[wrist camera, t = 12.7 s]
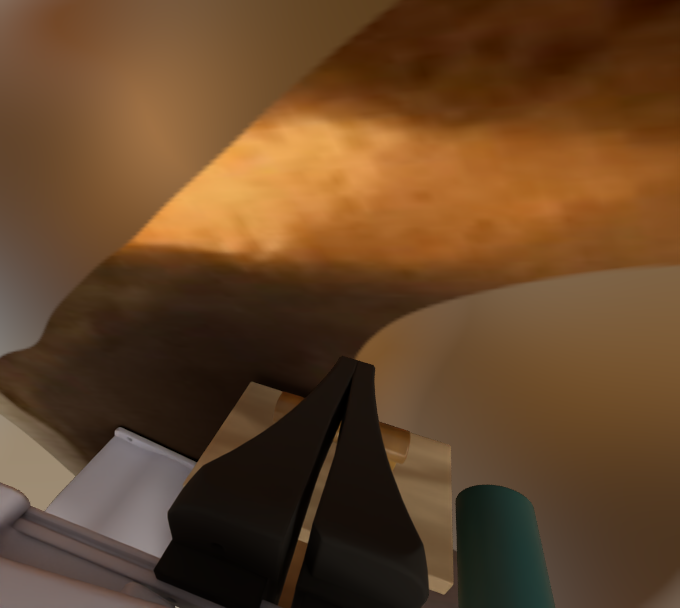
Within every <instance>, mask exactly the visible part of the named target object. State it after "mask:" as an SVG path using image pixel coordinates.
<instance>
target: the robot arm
mask: <svg viewBox="0 0 680 608" xmlns="http://www.w3.org/2000/svg"><path fill="white" fill-rule="evenodd" d="M374 376H375V367H374V365H371V364H368V363H364V362H361V361H358V360H354V359H351V358H348V357H344V356H342V357H340V358H339V359H338V361H337V362H336V364H335V365H334V367H333V368H332V369H331V371H330V372H329V373H328V374H327V375H326V377H325V378H324V379H323V380H322V381H321V382H320V383H319V384H318V385H317V386H316V388H315V389H314V390H313V391H312V392H311V393H310V394H309V395H308V396H306V397H305V398H304V399H303V400H302V401H301V402H300V403H299V404H298V405H297V406H296V407H294V408H293V409H292V410H291V411H290V412H289V413H287V414H286V415H285V416H284V417H282V418H281V419H280V420H278V421H277V422H276V423H274V424H273V425H272V426H270V427H269V428H267V429H266V430H264V431H263V432H262V433H260V434H259V435H257V436H255V437H254V438H252V439H250V440H249V441H247V442H245V443H244V444H242V445H240V446H239V447H237V448H235V449H234V450H232V451H230V452H228V453H226V454H224V455H222V456H220V457H218V458H216V459H214V460H212V461H210V462H208V463H206V464H204V465H203V466H202V467H201V468H200V469H199V470H198V471H197V472H196V473H195V474H194V475H193V477H192V478H191V479H190V480H189V481H188V483H187V484H186V485H185V486H184V488H183V483H184V481H185V480H186V478H187V477H188V475H189V474H190V472H191V471H192V469H193V468H194V466H195V465H196V463H197V462H195V461H193V460H191V459H189V458H187V457H184V456H182V455H180V454H178V453H176V452H174V451H171V450H169V449H167V448H165V447H163V446H161V445H159V444H156V443H154V442H152V441H150V440H148V439H146V438H143V437H141V436H139V435H137V434H135V433H133V432H130V431H128V430H126V429H124V428H122V427H118V428H117V429H116V430H115V436H114V437H113V438H112V439H111V440H110V441H109V442H108V443H107V444H106V445H105V446H104V447H103V449H102V450H101V451H100V452H99V453H98V454H97V455H96V456H95V457H94V458H93V459H92V460H91V461H90V462H89V463H88V464H87V465H86V466H85V467H84V468H83V469H82V470H81V471H80V472H79V474H78V475H77V476H76V477H75V478H74V479H73V480H72V481H71V482H70V483H69V484H68V485H67V486H66V487H65V488H64V489H63V490H62V491H61V492H60V493H59V495H57V497H56V498H55V499H54V500H53V501H52V502H51V504H50V505H49V506H48V507H47V509H46V510H45V511H42V510H40V509H37V508H35V507H32V506H30V502H29V500H28V498H27V497H26V496H25V495H24V494H23V493H22V492H20V491H19V490H17V489H15V488H13V487H10V486H8V485H5V484H3V483H0V608H175V606H177V607H179V608H282V607H280V606H278V603H279V600H280V597H281V594H282V590H283V587H284V584H285V581H286V577H287V574H288V571H289V568H290V564H291V561H292V558H293V555H294V551H295V548H296V545H297V542H298V539H299V535H300V532H301V529H302V526H303V523H304V519H305V516H306V513H307V510H308V507H309V504H310V500H311V497H312V494H313V491H314V488H315V485H316V482H317V479H318V476H319V473H320V471H321V468H322V466H323V464H324V461H325V459H326V456H327V454H328V452H329V449H330V447H331V444H332V442H333V440H334V437H335V435H336V432H337V430H338V428H339V425H340V423H341V425H340V430H339V435H338V440H337V445H336V450H335V454H334V458H333V461H332V464H331V467H330V470H329V473H328V477H327V480H326V483H325V486H324V489H323V492H322V495H321V499H320V502H319V505H318V508H317V511H316V514H315V517H314V520H313V524H312V528H311V532H310V536H309V540H308V544H307V548H306V552H305V556H304V560H303V563H302V567H301V570H300V573H299V577H298V580H297V583H296V587H295V593H294V597H293V601H292V605H291V608H421V607H422V605H423V604H424V603H425V602H426V601H427V598H428V596H429V579H428V568H427V561H426V555H425V550H424V544H423V542H422V540H421V538H420V536H419V534H418V532H417V530H416V528H415V526H414V524H413V522H412V520H411V517H410V515H409V513H408V511H407V508H406V506H405V504H404V501H403V499H402V497H401V494H400V491H399V489H398V486H397V483H396V481H395V478H394V476H393V473H392V470H391V467H390V464H389V460H388V457H387V454H386V450H385V447H384V443H383V439H382V434H381V430H380V425H379V420H378V414H377V407H376V399H375V386H374Z"/></svg>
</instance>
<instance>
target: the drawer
mask: <svg viewBox="0 0 680 608" xmlns="http://www.w3.org/2000/svg"><path fill="white" fill-rule="evenodd" d="M303 399H304V397H301V396H298V395H294V394H291V393H288V392H282V391H279V390H276V389H273V388H270V387H267V386H264V385H261V384H257V383H254V382H251V383H250V384H249V386H248V387H247V389H246V390H245V392H244V393H243V395H242V396H241V398H240V399H239V401H238V402H237V404H236V405H235V407H234V408H233V410H232V411H231V413H230V414H229V416H228V417H227V419H226V420H225V422H224V423H223V424H222V426H221V427H220V429H219V430H218V432H217V433H216V435H215V436H214V438H213V439H212V441H211V442H210V444H209V445H208V447H207V448H206V450H205V451H204V453H203V454H202V456H201V457H200V459H199V460H198V462H197V463H196V465H195V466H194V468H193V469H192V471H191V472H190V474H189V475H188V477H187V478H186V480H185V481H184V483H183V488H184V486H185V485H186V484H187V483H188V481H189V480H190V479H191V478H192V477H193V475H194V474H195V473H196V472H197V471H198V470H199V469H200V468H201V467H202V466H203V465H204V464H206V463H208V462H210V461H212V460H214V459H216V458H218V457H220V456H222V455H224V454H226V453H228V452H230V451H232V450H234V449H235V448H237V447H239V446H240V445H242V444H244V443H245V442H247V441H249V440H250V439H252V438H254V437H255V436H257V435H259V434H260V433H262V432H263V431H264V430H266V429H267V428H269V427H270V426H272V425H273V424H274V423H276V422H277V421H278V420H280V419H281V418H282V417H284V416H285V415H286V414H287V413H289V412H290V411H291V410H292V409H293V408H294V407H296V406H297V405H298V404H299V403H300V402H301V401H302V400H303ZM340 425H341V423H340ZM340 425H339V428H338V430H337V432H336V435H335V437H334V440H333V442H332V444H331V447H330V449H329V452H328V454H327V456H326V459H325V461H324V464H323V466H322V468H321V471H320V473H319V476H318V479H317V482H316V485H315V488H314V491H313V494H312V497H311V500H310V504H309V507H308V510H307V513H306V516H305V519H304V523H303V526H302V529H301V532H300V535H299V539H298V542H297V545H296V548H295V551H294V555H293V558H292V561H291V564H290V568H289V571H288V574H287V577H286V581H285V584H284V587H283V590H282V594H281V597H280V600H279V603H278V606H280V607H282V608H291V605H292V601H293V597H294V593H295V587H296V583H297V580H298V577H299V573H300V570H301V567H302V563H303V560H304V556H305V552H306V548H307V544H308V540H309V536H310V532H311V528H312V524H313V520H314V517H315V514H316V511H317V508H318V505H319V502H320V499H321V495H322V492H323V489H324V486H325V483H326V480H327V477H328V473H329V470H330V467H331V464H332V461H333V458H334V454H335V450H336V445H337V440H338V435H339V430H340ZM379 425H380V430H381V434H382V439H383V443H384V447H385V450H386V454H387V457H388V460H389V464H390V467H391V470H392V473H393V476H394V478H395V481H396V483H397V486H398V489H399V491H400V494H401V497H402V499H403V501H404V504H405V506H406V508H407V511H408V513H409V515H410V517H411V520H412V522H413V524H414V526H415V528H416V530H417V532H418V534H419V536H420V538H421V540H422V542H423V544H424V550H425V555H426V561H427V568H428V579H429V589H431V590H433V591H436V592H439V593H441V594H445V593H446V592H447V591H448V590H449V589H450V588H451V586H452V585H453V540H452V539H453V537H452V491H451V490H452V487H451V446H450V445H448V444H445V443H442V442H438V441H435V440H432V439H429V438H426V437H423V436H420V435H416V434H413V433H410V432H409V431H406V430H404V429H400V428H397V427H394V426H391V425H388V424H385V423H382V422H379Z"/></svg>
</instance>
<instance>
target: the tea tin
mask: <svg viewBox="0 0 680 608" xmlns="http://www.w3.org/2000/svg"><path fill="white" fill-rule="evenodd" d="M456 530H457V566H458V601H459V608H555V604H554V600H553V595H552V591H551V586H550V581H549V576H548V572H547V567H546V563H545V558H544V553H543V549H542V544H541V539H540V535H539V530H538V525H537V521H536V516H535V512H534V508H533V505H532V504H531V502H530V501H529V500H528V499H527V498H526V497H525V496H523V495H522V494H520V493H519V492H516V491H514V490H512V489H509V488H506V487H502V486H496V485H477V486H472V487H469V488H466V489H465V490H463V491H461V492H460V493H459V494H458V496H457V498H456Z"/></svg>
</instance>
